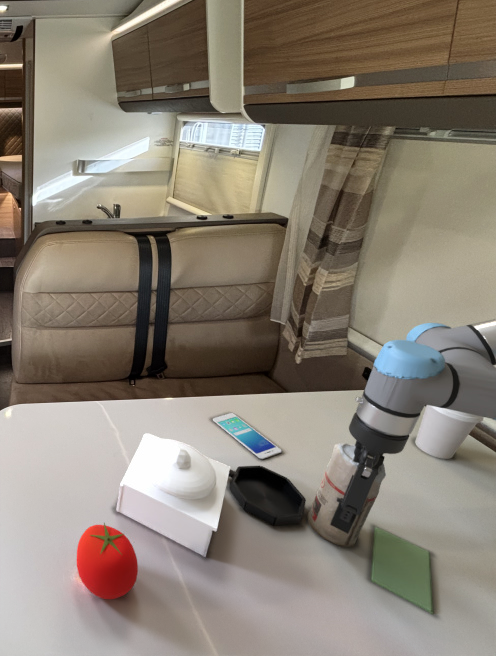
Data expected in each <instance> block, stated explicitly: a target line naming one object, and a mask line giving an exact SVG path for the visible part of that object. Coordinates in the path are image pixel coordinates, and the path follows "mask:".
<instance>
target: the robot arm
mask: <svg viewBox="0 0 496 656" xmlns="http://www.w3.org/2000/svg"><path fill="white" fill-rule="evenodd" d="M405 337H406V338H405V339H394V340H393V339H392V340H389V341H387V342H386V343H384V345H383V346H382V347H381V349H380V350H379V352H378V355H377V357H376V358H375V359H374V362H373V366H372V369H371V372H370V374H369V377H368V380H367V382H366V385H365V387H364V390H363V392H362V395H361V396H356V397H355V399H354V400H355V401H356V403H358V405H357V407H356V410H355V412H354V414H353V416H352V418H351V421H350V423H349V426H348V432H349V434H350V435H351V437H352V438H353V439H354V440H355V443H354V445H355V450H354V459H353V462H356V463H357V460H358V463H359V464H358V465H357V469H356V471H355V474H354V476H353V474H352V477H351V479H350V482H349V484H348V486H347V489H346V491H345V494H344V497H343V499H342V498H341V499H340V498H338V497H337V502H339V504H338V507H337V509H336V511H335V514H334V516H333V518H332V521H331V524H330V525H332V526H334V527H336V528H338V529H340V530H341V531H343V532H345V533H347V534H348V533H349V531H350V529H351V527H352V524H353V522H354V520H355V518H356V516H357V515H358V516H359V515H360V514H361V510H362V508H363V505H364V503H365V500H366V498H367V496H368V493H369V491H370V488H371V486H372V484H373V481H374V480H375V478H376V476H377V475H378V469H379V466H381V465H382V464H383V463H384V461H385V456H384V454H386V455H387V454H388V455H397V454H400V453H401V452H403V451H404V449H405V447H406V445H407V442H408V441H409V439H410V438H409V437H410V435H411V434H412V433H413V431H414V429H415V427H416V426H417V423H418V421H419V419H420V417H421V413H422V411H423V410H424V408H425V407H426V405H430V406H435V407H440V408H445V409H450V410H454V411H459V412H463V413H468V414H472V415H477V416H482V417H484V418H487V419H491V420H493V421H496V318H493V319H489V320H485V321H479V322H475V323H470V324H466V325H460V326H456V327H451V326H449V325H446V324H444V323H438V322H426V323H421V324H419V325H415V326H414V327H413V328H411V330H410V331H408V333H407V335H406V336H405ZM373 467H374V468H373Z"/></svg>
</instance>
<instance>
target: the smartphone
mask: <svg viewBox="0 0 496 656" xmlns="http://www.w3.org/2000/svg"><path fill="white" fill-rule="evenodd" d="M212 422H213V423H214V424H216V425H217V426H218V427H219V428H221V429H222V430H223V431H224V432H226V434H228V435H229V436H230V437H232V438H233V439H234V440H235V441H236V442H238V443H239V444H240V445H241V446H242V447H243V448H244V449H246V450H247V451H248V452H250V453H251V454H252V455H253V456H255V457H256V458H257V459H259V460H260V461H263V460H264V461H265V460H266V459H269V458H272V457H274V456H277V455H281V454H282V451H283V450H282V449H281V448H280V447H279V446H277V445H276V444H274V443H273V442H272V441H270V440H269V439H268V438H267V437H265V436H264V435H263V434H262V433H260V432H259V431H257V430H256V429H255V428H254V427H252V426H251V425H250V424H248V423H247V422H246V421H245V420H243V419H242V418H240V417H239V416H238V415H236V414H235V413H233V412H228V413H226V414H222V415H220V416H216V417H213V418H212Z"/></svg>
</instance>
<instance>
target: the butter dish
mask: <svg viewBox="0 0 496 656" xmlns="http://www.w3.org/2000/svg"><path fill="white" fill-rule="evenodd" d="M132 457H133V458H132V459H131V462H130V464H129V465H128V468H127V470H126V472H125V474H124V476H123V478H122V480H121V482H120V484H119V488H118V495H117V503H116V510H115V511H116V512H118V513H120V514H122V515H123V516H125V517H127V518H130V519H131V520H133V521H136V522H137V523H139V524H141V525H142V526H145V527H147V528H149V529H151V530H152V531H154V532H156V533H159V534H161V535H162V536H164V537H166V538H168V539H170V540H171V541H174V542H176V543H177V544H179V545H181V546H183V547H186V548H187V549H188V550H191V551H193V552H195V553H197V554H199V555H200V556H202V557H204V558H206V557H207V553H208V549H209V546H210V542H211V539H212V535H213V532H216V533H217V531H218V526H219V521H220V516H221V514H222V513H221V512H222V508H223V503H224V498H225V494H226V490H227V485H228V479H229V476H228V475H229V470H230V469H231V466H230V465H227V464H225V463H223V462H220V461H218V460H216V459H213V458H210V457H208V456H206V455H204V454H203V453H202V452H200V451H199V450H198V449H196V448H195V447H193V446H192V445H189V444H188V443H185V442H183V441H179V440H176V439H172V438H161V437H159V436H156V435H153V434H152V433H149V432H146V433H143V436H142V439H141V441H140V443H139V445H138V448H137V449H136V451H135V453H134V455H133V456H132Z"/></svg>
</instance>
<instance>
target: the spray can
mask: <svg viewBox="0 0 496 656" xmlns="http://www.w3.org/2000/svg"><path fill="white" fill-rule="evenodd" d="M354 450H355V444H349V443H344V442H338V443H335V444H334V446H333V450H332V453H331V455H330V459H329V461H328V463H327V465H326V469H325V471H324V473H323V477H322V479H321V480H320V484H319V487H318V488H317V492H316V494H315V497H314V499H313V502H312V504H311V507H310V510H308V512H307V516H306V517H307V520H308V524H309V526H310V527H311V529H312V530H313V531H314V532H315V533H316V534H318V536H319V537H321V538H322V539H324V540H326V541H328V542H330V543H332V544H334V545H336V546H339V547H342V548H348V547H350V548H351V547H353V546H355V544H356V542H357V540H358V538H359V535H360V533H361V532H362V529H363V527H364V524H365V522H366V520H367V519H368V516H369V515H370V512H371V510H372V508H373V506H374V504H375V501H376V499H377V498H378V495H379V493H380V489H381V485H382V483H383V481H384V479H385V478H386V476H387V475H386V469H385V463H384V462H383V464H382V465H381V466H379V469H378V475H377V476H376V478H375V480H374V481H373V484H372V486H371V488H370V491H369V493H368V496H367V498H366V500H365V503H364V505H363V508H362V510H361V514H360V515H359V516H358V515H357V516H356V518H355V520H354V522H353V524H352V527H351V529H350V531H349V533H348V534H347V533H345V532H343V531H341V530H340V529H338V528H336V527H334V526H332V525H330V524H331V521H332V518H333V516H334V514H335V511H336V509H337V507H338V504H339V502H337V497H338V498H340V499H341V498H342V499H343V497H344V494H345V491H346V489H347V486H348V484H349V482H350V479H351V477H352V474H353V476H354V474H355V471H356V469H357V465H358V464H359V463H358V460H357V463H356V462H353V459H354ZM373 468H374V467H373Z"/></svg>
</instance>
